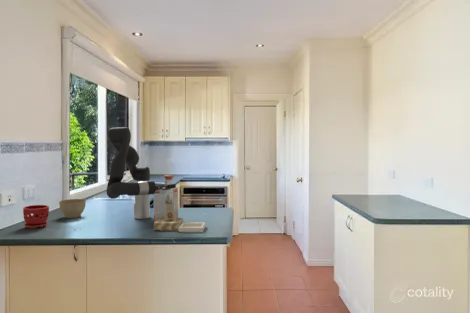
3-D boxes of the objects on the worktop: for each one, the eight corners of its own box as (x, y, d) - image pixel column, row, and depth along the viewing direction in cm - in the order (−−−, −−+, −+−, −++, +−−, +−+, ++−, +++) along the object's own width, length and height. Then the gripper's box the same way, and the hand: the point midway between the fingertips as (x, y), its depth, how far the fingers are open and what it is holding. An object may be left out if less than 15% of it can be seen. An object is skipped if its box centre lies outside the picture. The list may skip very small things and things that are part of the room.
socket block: (153, 230, 194) (153, 223, 194) (159, 224, 208) (159, 218, 208) (179, 230, 194) (178, 223, 194) (183, 224, 208) (183, 217, 208)
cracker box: (178, 221, 218) (178, 187, 218) (174, 223, 212) (174, 188, 212) (158, 220, 222) (157, 186, 221) (153, 222, 216) (153, 188, 216)
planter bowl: (68, 220, 222) (68, 203, 222) (54, 217, 231) (54, 201, 231) (91, 216, 235) (91, 200, 235) (77, 213, 244) (76, 198, 244)
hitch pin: (163, 204, 198) (162, 175, 197) (165, 202, 203) (164, 175, 203) (173, 204, 198) (172, 175, 197) (174, 202, 203) (174, 175, 203)
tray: (178, 232, 190) (178, 227, 189) (182, 226, 203) (182, 222, 202) (202, 232, 189) (202, 227, 189) (205, 226, 202) (205, 222, 202)
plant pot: (19, 230, 198) (19, 208, 197) (28, 225, 211) (28, 205, 210) (45, 228, 200) (44, 207, 200) (52, 223, 213) (51, 204, 213)
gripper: (151, 182, 186) (179, 180, 196) (139, 180, 197) (167, 178, 207) (151, 196, 186) (179, 193, 197) (139, 193, 197) (167, 190, 208)
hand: (173, 185), depth 202 cm, fingers closed on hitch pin, 4 cm apart
